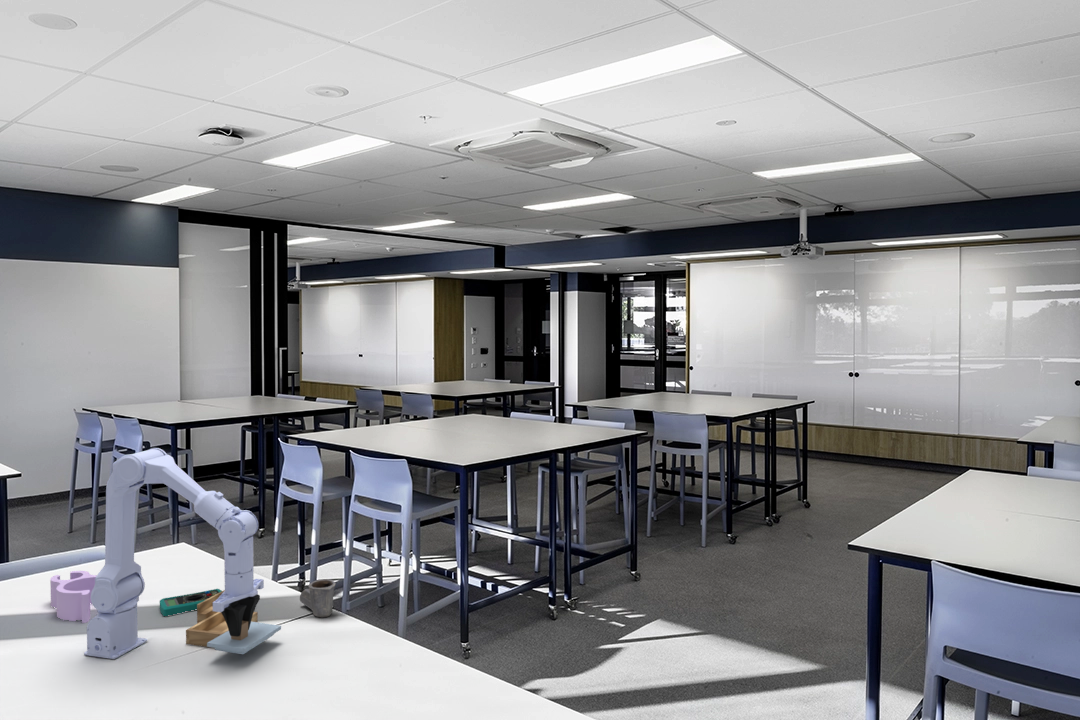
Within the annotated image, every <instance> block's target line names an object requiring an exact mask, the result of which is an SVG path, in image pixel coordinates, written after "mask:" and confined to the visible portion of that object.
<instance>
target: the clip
mask: <svg viewBox="0 0 1080 720" xmlns="http://www.w3.org/2000/svg"><path fill="white" fill-rule="evenodd" d="M97 575H98V574H90V572H89V571H86V570H72V571H70V572H69V578H70V579H61V575H60V574H55V575H53V576H51V577H50V579H49V581H50V607H51V606H52V607H55V608H57V609H56V618H57V617H58V618H60V619H63V620H62V621H64V620H69V621H68V622H77V621H76V620H82V621H81V623H82V624H86V623H87V624H88V623H89V622H88V621H90V620H91V604H90V603H92V602H91V592H92V590H93V588H94V586H95V578H96V576H97ZM52 607H51V608H52ZM55 608H54V609H55ZM58 618H57V619H58ZM60 619H59V620H60Z"/></svg>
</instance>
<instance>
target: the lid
mask: <svg viewBox="0 0 1080 720" xmlns="http://www.w3.org/2000/svg"><path fill="white" fill-rule="evenodd" d="M281 630H282V625H278V624H270V623H264V622H251V624H250V628H249V630H248V621H242V629H241V634H240V636H238V637H237V636H230V633H229V631H227V632H225V633H224V634H222V635H220V636H218V637H216V638H215V639H213V640H211V641H209V642H208V643H207V647H206V648H210V647H213V648H212V649H214V650H215V651H219V652H226V653H232V654H238V655H245V654H246V653H248V652H249V651H251V650H252V649H254V648H256V647H257V646H258V645H261V643H263V642H265V641H267V640H268V639H270V638H271V637H272V636H274V635H275V634H276V633H278V632H279V631H281Z"/></svg>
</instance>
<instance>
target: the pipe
mask: <svg viewBox="0 0 1080 720" xmlns="http://www.w3.org/2000/svg"><path fill="white" fill-rule="evenodd" d="M335 586H336V582H335V581H334V580H333V579H330V578H329V579H328V578H326V579H325V578H322V579H318V580H313V581H312V582H310V583H309V584H308V586H307V587H308V588H305V589H304V590H302V592H301V593H300V595H299V601H300V603H301V604H303V605H305V606H306V607H307V608H309V609H310V610H311V611H312V613H313V616H315V617H317V618H327V617H330V616H331V615H332V613H333V610H334V609H332V608H334V594H335V593H334V592H335V588H336V587H335Z"/></svg>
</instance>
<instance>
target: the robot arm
mask: <svg viewBox="0 0 1080 720" xmlns="http://www.w3.org/2000/svg"><path fill="white" fill-rule="evenodd" d="M146 484H147V485H148V484H150V485H151V484H152V485H153V484H164V485H166V487H168V488H169V489H171V490H172V491H174V492H175V493H177V494H178V495H180V496H182V497H183V498H184V499H186V500H187V501H189V502H190V503H192V504H193V509H194V513H195V514H197V515H198V516H199V517H201V518H202V519H203V520H204V521H206V522H207V523H208V524H209V525H210V526H212V527H213V528H215V530H217V534H218V535H217V536H218V539H220V541H221V542H222V544H223V550H224V554H223V555H224V557H223V558H224V590H225V591H224V592H223V593H222V594H221V595H220V597H219V598H218V599H217V600H216V601H214V602H213V611H215V612H221V613H222V615H223V617H224V619H225V621H226V623H227V626H228V630H229V633H230V636H237V637H238V636H240V634H241V629H242V621H248V630H249V628H250V624H251V620H252V616H253V613H254V612H255V611H256V610H255V609H256V608H257V605H258V603H259V602H260V599H261V596H260V594H258V593H259V591H258V590H262V589H264V587H265V585H264V582H265V581H264V579H261V578H254V535H255V534H256V533H257V532H258V529H259V521H258V518H257V516H256V515H255V514H254V513H253V512H252V511H250V510H247V509H245V510H244V509H241V508H240V507H238V506H235V505H234V504H232V503H231V502H230V501H229V500H227V499H226V498H225V497H224V493H222V492H221V491H218V492H217V491H216V490H208V491H207V490H206V489H204V488H203V487H202V486H201V485H200V484H198V483H197V482H196V481H195V480H194V479H193V478H192V477H191V476H190V475H188V474H187V473H186V472H185V471H184V470H183V469H182V468H180V467H179V466H178V465H177V464H176V461H175V459H174V457H173V456H171V455H169V454H168V453H166V451H165V450H164V449H161V448H159V447H151V448H149V449H147V450H144V451H139V452H136V453H131V454H125V455H122V456H121V457H120V458H118V459H117V460H116V461H114V462H113V463H112V472H111V474H110V475H109V478H108V480H107V482H106V487H105V488H106V489H105V544H104V546H105V548H104V550H105V551H104V553H105V554H104V566H103V567H102V568H101V569H100V570H99V572H98V573H97V574H96V575H97V576H96V578H95V586H94V588H93V590H92V592H91V602H92V604H91V605H92V606H93V608H94V609H95V610H96V611H97V614H96V615H95V616H93V617H92V618H90V620H89V622H87V626H86V651H84V652H83V655H84V656H90V657H97V658H102V659H103V658H104V659H112V660H115V659H118V658H119V657H122V656H123V655H125V654H126V653H128V652H130V651H132V650H134V649H135V648H137V647H140V646H141V645H143V644H145V643H146V642H147V641H148V638H144V637H139V636H138V635H139V633H138V631H139V629H138V603H139V601H140V598H139V597H140V596H141V595H142V594H143V593H144V590H145V585H146V584H145V580H144V577H143V575H142V565H140V564H138V563H137V562H136V561H135V528H136V527H135V522H136V521H135V520H136V517H135V516H136V491H138V490H139V489H140V488H141V487H143V485H146Z"/></svg>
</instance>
